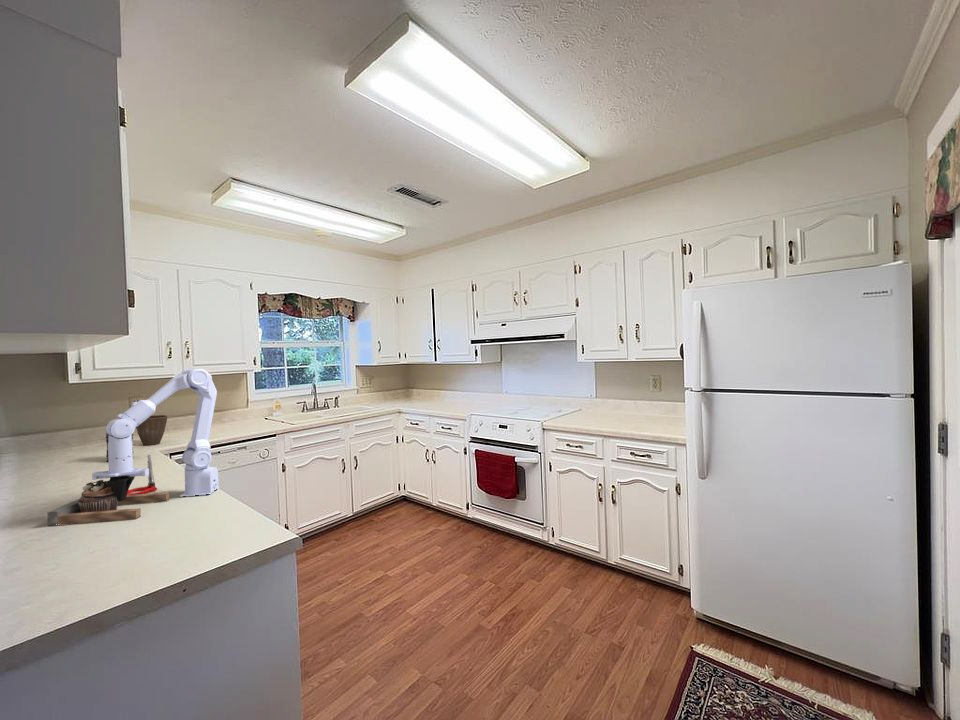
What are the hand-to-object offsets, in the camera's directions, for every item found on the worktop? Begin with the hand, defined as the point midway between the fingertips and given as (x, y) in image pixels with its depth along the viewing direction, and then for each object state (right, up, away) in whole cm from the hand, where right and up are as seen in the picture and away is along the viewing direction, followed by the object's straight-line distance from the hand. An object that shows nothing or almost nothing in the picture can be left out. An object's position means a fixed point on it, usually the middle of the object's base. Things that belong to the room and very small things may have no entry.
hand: (121, 500), depth 126 cm
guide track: (-2, -3, 0) cm, 4 cm away
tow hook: (-10, -4, +18) cm, 22 cm away
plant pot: (-78, -5, +107) cm, 133 cm away
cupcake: (-6, -4, -1) cm, 7 cm away
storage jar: (-63, -5, +70) cm, 94 cm away
